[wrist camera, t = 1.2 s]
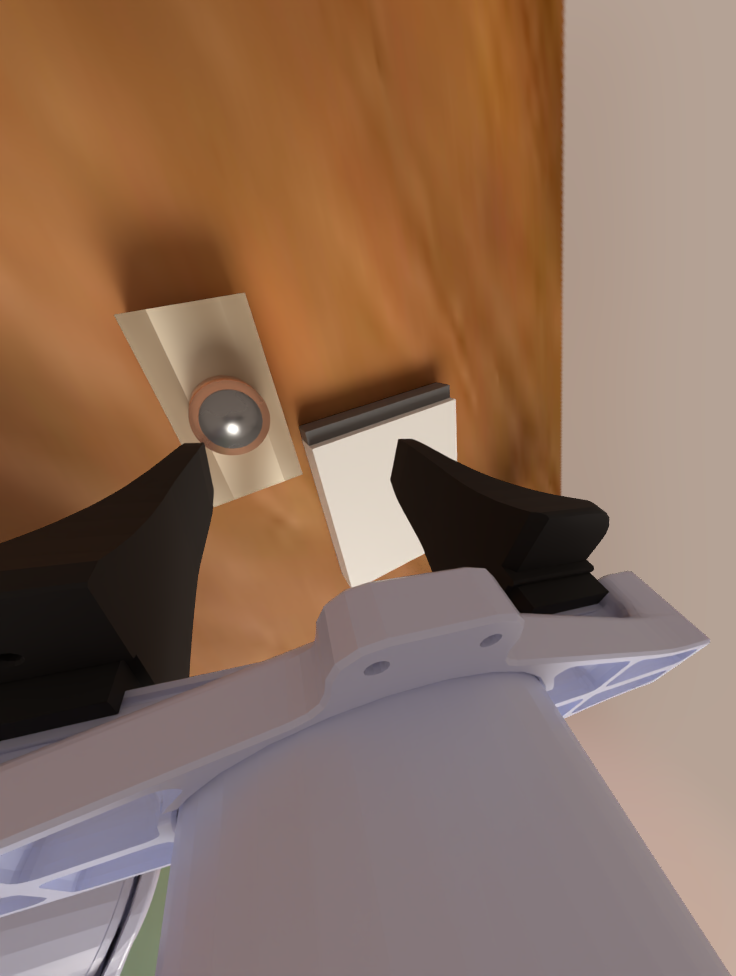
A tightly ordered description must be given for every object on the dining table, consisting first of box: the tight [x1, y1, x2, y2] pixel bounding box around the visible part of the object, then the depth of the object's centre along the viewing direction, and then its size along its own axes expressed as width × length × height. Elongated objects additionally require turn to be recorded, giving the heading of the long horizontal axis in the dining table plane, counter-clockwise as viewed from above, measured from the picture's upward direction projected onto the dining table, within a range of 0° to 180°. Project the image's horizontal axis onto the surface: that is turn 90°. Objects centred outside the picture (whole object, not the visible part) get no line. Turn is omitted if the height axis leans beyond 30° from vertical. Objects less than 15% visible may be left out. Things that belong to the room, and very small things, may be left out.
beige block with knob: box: [114, 293, 302, 507], centre depth 18 cm, size 6×10×4 cm, turn 10°
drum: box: [188, 375, 270, 455], centre depth 16 cm, size 4×4×2 cm
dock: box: [299, 382, 457, 588], centre depth 27 cm, size 12×15×2 cm
